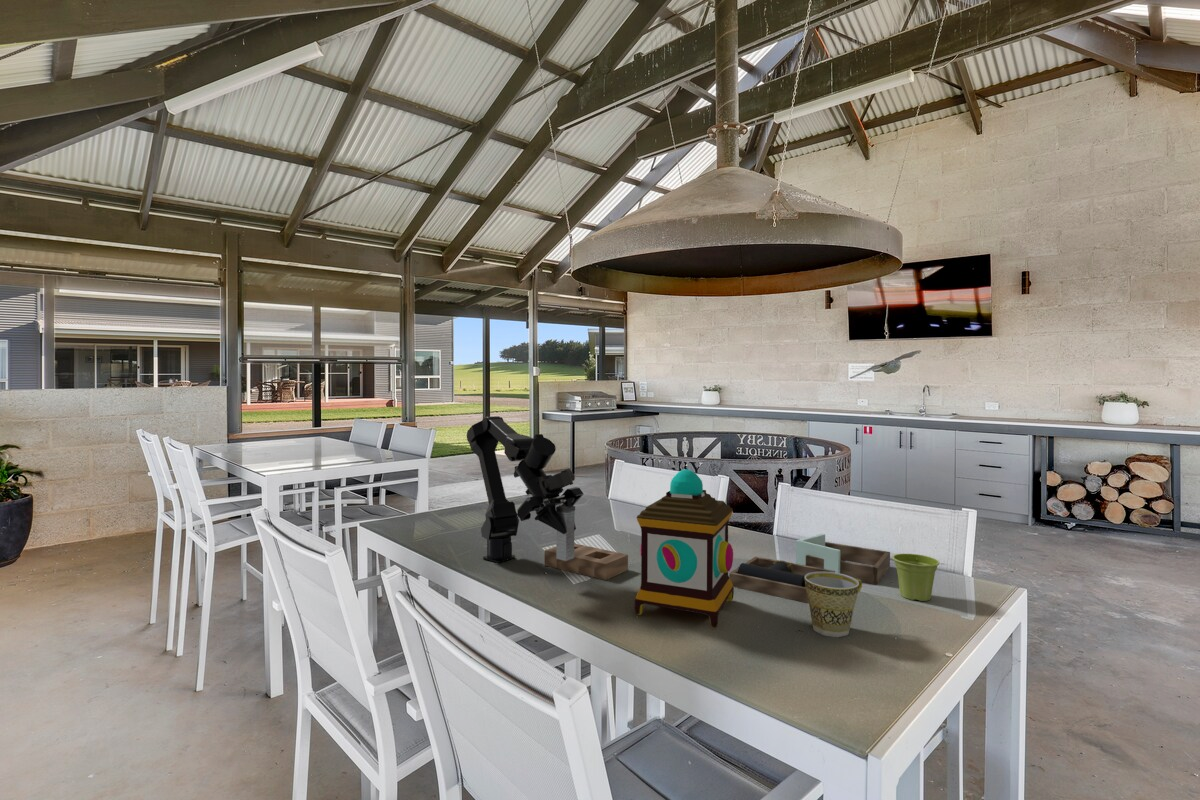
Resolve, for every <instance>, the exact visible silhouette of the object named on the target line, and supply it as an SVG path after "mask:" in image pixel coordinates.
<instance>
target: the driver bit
mask: <svg viewBox="0 0 1200 800" xmlns="http://www.w3.org/2000/svg"><path fill="white" fill-rule="evenodd" d="M556 511H557V514H558V516H559V517H560V519H561V521H562V523H563V524H564V526H565V528H566V530H567V532H566V533H565V534H562V533H561V532H559V531H557V530H556V546H555V547H556V559H560V560H564V561H567V560H570V559H573V558H574V543H575V531H574V522H575V515H576V514H575V513H576V512H575V511H576V506H575V505H573V506H571V505H561V506H557V507H556Z"/></svg>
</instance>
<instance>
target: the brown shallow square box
mask: <svg viewBox="0 0 1200 800" xmlns="http://www.w3.org/2000/svg"><path fill="white" fill-rule="evenodd" d="M825 547H830V548H834V549H838V550H840V574H844V575H847V576H850V577H853V578H858V579H860V580H861V582H862V583H867V584H870V585H871V584H872V585H876V586H877V585H878V584H879V583H880V582H881V580H882V579H883V578H884V576H885V575H886V573H887V572H888V570H889V569H890V568H891V552H890V551H887V550H879V549H873V548H867V547H860V546H854V545H847V544H842V543H834V542H829V541H828V542H827V541H825ZM806 566H811V567H816V568H822V569H824V559H822V558H818V557H814V556H811V555H806Z"/></svg>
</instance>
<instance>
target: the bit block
mask: <svg viewBox="0 0 1200 800" xmlns="http://www.w3.org/2000/svg"><path fill="white" fill-rule="evenodd" d="M544 566H546V567H550V568H554V569H559V570H562V571H566V572H570V573H574V574H579V575H583V576H587V577H591V578H594V577H595V579H599V580H602V579H603V581H607V580H610V579H611V578H614V577H616V576H619V575H620V574H623V573H625V572H627V571H629V554H627V553H624V552H623V553H622V552H618V551H612V550H608V549H603V548H598V547H592V546H588V545H583V544H579V543H575V542H574V558H573V559H570V560H567V561H564V560H560V559H556V546H554V547H550V548H547V549H545V550H544Z"/></svg>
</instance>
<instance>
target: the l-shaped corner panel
mask: <svg viewBox="0 0 1200 800" xmlns="http://www.w3.org/2000/svg"><path fill="white" fill-rule="evenodd" d="M825 542H826V534H824V533H819V534H815V535H811V536H807V537H804V538H801V539H797V540H795V564H800V565H805V566H806V555H811V556H814V557H818V558H822V559H824V569H827V570H833V571H835V573H840V561H841V560H840V550H838V549H834V548H830V547H825Z"/></svg>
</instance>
